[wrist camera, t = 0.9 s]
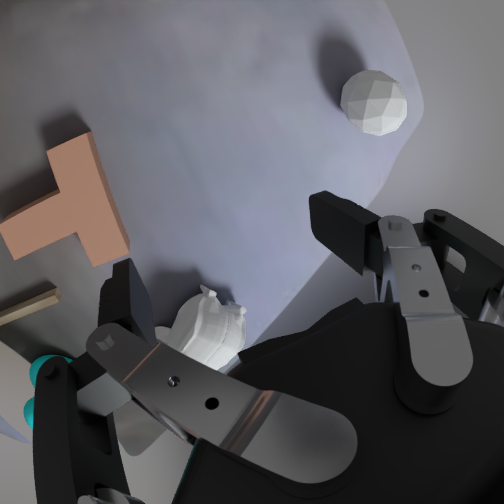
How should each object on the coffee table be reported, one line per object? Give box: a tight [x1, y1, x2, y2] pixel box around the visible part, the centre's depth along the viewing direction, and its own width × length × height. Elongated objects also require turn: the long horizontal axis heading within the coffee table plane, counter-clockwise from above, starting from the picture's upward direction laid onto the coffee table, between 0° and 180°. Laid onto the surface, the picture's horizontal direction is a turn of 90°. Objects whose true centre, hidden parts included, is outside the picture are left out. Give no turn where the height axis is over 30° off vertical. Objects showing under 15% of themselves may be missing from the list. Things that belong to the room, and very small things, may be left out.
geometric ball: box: [340, 70, 407, 136], centre depth 27 cm, size 8×8×8 cm
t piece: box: [0, 131, 130, 267], centre depth 22 cm, size 12×12×3 cm
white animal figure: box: [155, 285, 247, 370], centre depth 33 cm, size 8×8×15 cm
